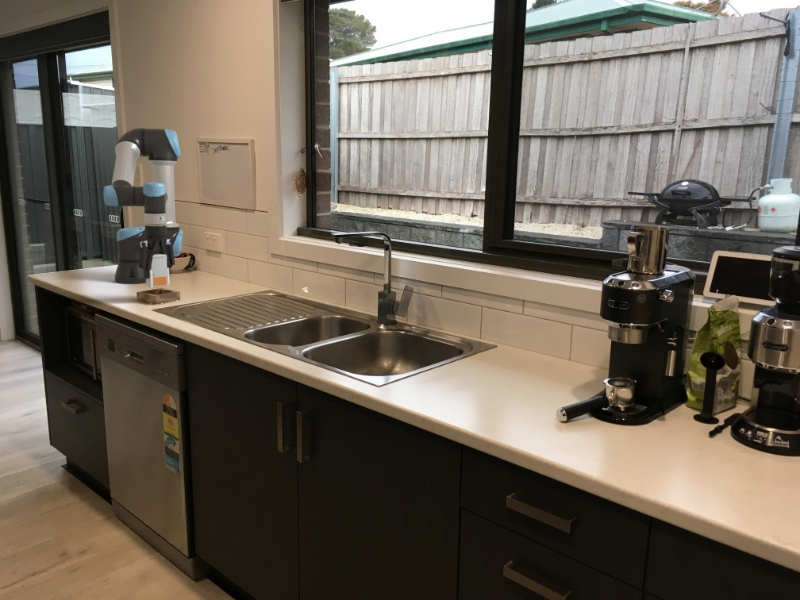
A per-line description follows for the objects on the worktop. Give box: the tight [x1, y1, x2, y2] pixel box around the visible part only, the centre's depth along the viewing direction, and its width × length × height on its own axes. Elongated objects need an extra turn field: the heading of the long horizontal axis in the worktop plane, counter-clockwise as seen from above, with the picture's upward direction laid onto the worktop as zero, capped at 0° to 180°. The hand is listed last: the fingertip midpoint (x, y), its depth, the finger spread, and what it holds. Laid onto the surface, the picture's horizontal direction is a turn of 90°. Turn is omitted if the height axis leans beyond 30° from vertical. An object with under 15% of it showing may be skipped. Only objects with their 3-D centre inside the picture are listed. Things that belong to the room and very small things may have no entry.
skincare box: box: [150, 254, 168, 288], centre depth 241 cm, size 6×4×12 cm
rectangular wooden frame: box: [136, 287, 181, 305], centre depth 243 cm, size 11×11×3 cm
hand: (158, 285), depth 242 cm, fingers closed on skincare box, 7 cm apart
